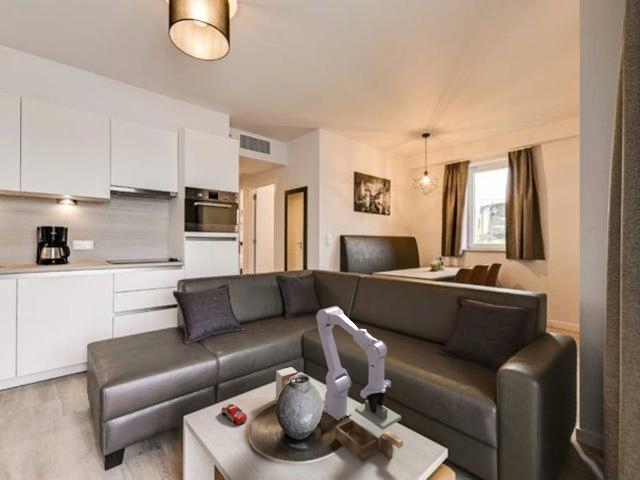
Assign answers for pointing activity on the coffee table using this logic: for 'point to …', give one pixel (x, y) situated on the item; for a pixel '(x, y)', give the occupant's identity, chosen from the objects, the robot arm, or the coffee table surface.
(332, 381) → the robot arm
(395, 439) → the wooden block
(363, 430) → the toolbox
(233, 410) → the race car
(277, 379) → the small box
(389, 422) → the toolbox lid
